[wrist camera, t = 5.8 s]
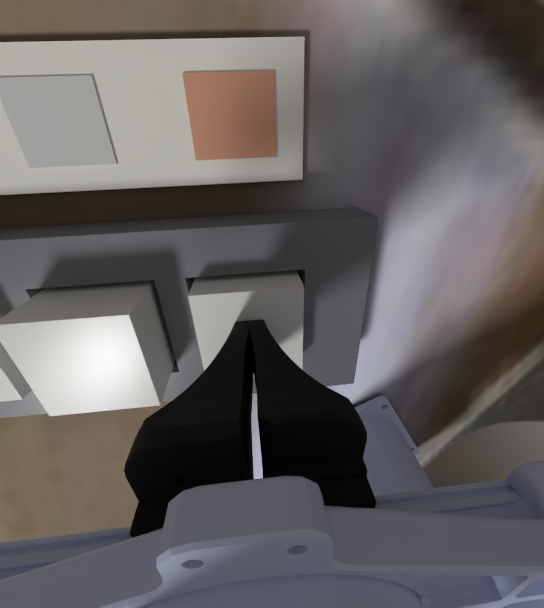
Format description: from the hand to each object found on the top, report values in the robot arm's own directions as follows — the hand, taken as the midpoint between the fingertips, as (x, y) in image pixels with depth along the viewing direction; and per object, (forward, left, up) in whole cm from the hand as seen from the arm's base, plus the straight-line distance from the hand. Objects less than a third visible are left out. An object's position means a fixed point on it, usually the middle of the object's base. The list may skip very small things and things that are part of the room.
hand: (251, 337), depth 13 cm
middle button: (+4, +6, -2) cm, 7 cm away
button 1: (0, 0, -3) cm, 3 cm away
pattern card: (+11, +2, -4) cm, 12 cm away
